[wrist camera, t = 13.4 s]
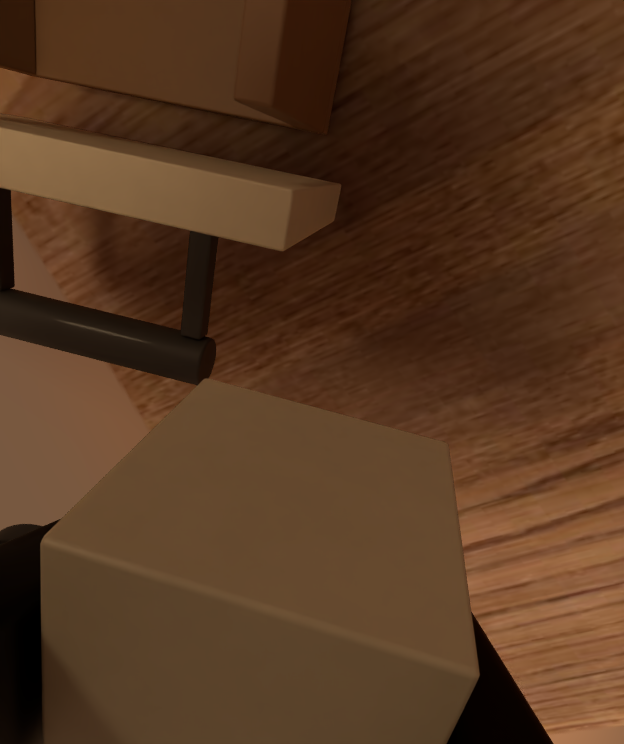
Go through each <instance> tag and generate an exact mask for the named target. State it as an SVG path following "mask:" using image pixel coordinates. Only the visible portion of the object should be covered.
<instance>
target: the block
mask: <svg viewBox="0 0 624 744" xmlns="http://www.w3.org/2000/svg"><path fill="white" fill-rule="evenodd" d="M40 565H41V658H42V744H447V742H448V740H449V738H450V736H451V734H452V732H453V730H454V728H455V726H456V724H457V722H458V720H459V718H460V715H461V713H462V711H463V709H464V707H465V705H466V703H467V701H468V699H469V697H470V695H471V693H472V691H473V689H474V687H475V685H476V683H477V681H478V678H479V676H480V673H479V665H478V658H477V650H476V643H475V636H474V628H473V621H472V614H471V606H470V599H469V592H468V584H467V577H466V569H465V562H464V555H463V547H462V540H461V533H460V525H459V518H458V511H457V503H456V496H455V489H454V481H453V474H452V467H451V459H450V452H449V445H448V444H447V443H446V442H443V441H439V440H435V439H432V438H428V437H424V436H420V435H417V434H413V433H409V432H406V431H402V430H398V429H394V428H391V427H387V426H383V425H380V424H376V423H372V422H368V421H365V420H361V419H357V418H354V417H350V416H346V415H342V414H339V413H335V412H331V411H328V410H324V409H320V408H316V407H313V406H309V405H305V404H302V403H298V402H294V401H290V400H287V399H283V398H279V397H276V396H272V395H268V394H264V393H261V392H257V391H253V390H250V389H246V388H242V387H238V386H235V385H231V384H227V383H224V382H220V381H216V380H212V379H209V378H207V379H204V380H202V381H201V382H200V383H199V384H198V385H197V386H196V387H195V388H194V389H193V390H192V391H191V392H190V393H189V394H188V395H187V396H186V397H185V398H184V399H183V400H182V401H181V402H180V403H179V404H178V405H177V406H176V407H175V408H174V409H173V410H172V411H171V412H170V413H169V414H168V415H167V416H166V417H165V418H164V419H163V420H162V421H161V422H160V423H159V424H158V425H157V426H156V427H155V428H154V429H152V430H151V431H150V432H149V433H148V434H147V436H145V437H144V438H143V439H142V440H141V441H140V442H139V443H138V444H137V445H136V446H135V447H134V448H133V449H132V450H131V451H130V452H129V453H128V454H127V455H126V456H125V457H124V458H123V459H122V460H121V461H120V462H119V463H118V464H117V465H116V466H115V467H114V468H113V469H112V470H111V471H110V472H109V473H108V474H107V475H106V476H105V477H104V478H103V479H102V480H100V481H99V483H98V484H96V486H94V487H93V488H92V489H91V490H90V491H89V492H88V493H87V494H86V495H85V496H84V497H83V498H82V499H81V500H80V501H79V502H78V503H77V504H76V505H75V506H74V507H73V508H72V509H71V510H70V511H69V512H68V513H67V514H66V515H65V516H64V517H63V518H62V519H61V520H60V521H59V522H58V523H57V524H56V525H55V526H54V527H53V528H52V529H50V530H49V531H48V532H47V533H46V534H45V535H44V537H43V539H42V541H41V544H40Z"/></svg>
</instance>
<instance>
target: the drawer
mask: <svg viewBox="0 0 624 744" xmlns="http://www.w3.org/2000/svg"><path fill="white" fill-rule="evenodd" d="M351 1H352V0H0V67H1V68H4V69H8V70H12V71H16V72H19V73H23V74H27V75H31V76H35V77H40V78H45V79H50V80H55V81H60V82H65V83H70V84H75V85H80V86H85V87H90V88H95V89H100V90H105V91H110V92H115V93H120V94H125V95H130V96H135V97H140V98H144V99H149V100H154V101H159V102H164V103H169V104H174V105H179V106H184V107H189V108H194V109H199V110H204V111H209V112H214V113H219V114H224V115H229V116H234V117H239V118H244V119H249V120H254V121H259V122H264V123H268V124H273V125H278V126H283V127H288V128H293V129H298V130H303V131H308V132H313V133H318V134H323V135H326V134H327V133H328V127H329V122H330V117H331V111H332V106H333V100H334V95H335V89H336V84H337V78H338V73H339V67H340V62H341V56H342V51H343V45H344V40H345V34H346V29H347V23H348V18H349V12H350V7H351ZM11 190H13V191H17V192H21V193H26V194H30V195H35V196H39V197H44V198H48V199H52V200H57V201H61V202H66V203H70V204H75V205H79V206H83V207H88V208H92V209H97V210H101V211H105V212H110V213H114V214H119V215H123V216H128V217H132V218H136V219H141V220H145V221H150V222H154V223H159V224H163V225H167V226H172V227H176V228H181V229H185V230H190V237H189V248H188V259H187V270H186V280H185V291H184V302H183V313H182V323H181V330H177V329H173V328H169V327H165V326H161V325H157V324H153V323H149V322H145V321H141V320H137V319H133V318H129V317H125V316H120V315H116V314H112V313H108V312H104V311H100V310H96V309H92V308H88V307H84V306H80V305H76V304H72V303H68V302H64V301H60V300H55V299H51V298H47V297H43V296H39V295H35V294H31V293H27V292H23V291H19V290H15V289H11V288H13V287H14V285H15V284H14V262H13V261H14V260H13V235H12V211H11ZM340 190H341V184H339V183H334V182H329V181H324V180H320V179H315V178H310V177H305V176H301V175H296V174H291V173H286V172H282V171H277V170H272V169H267V168H263V167H258V166H253V165H248V164H244V163H239V162H234V161H229V160H225V159H220V158H215V157H210V156H206V155H201V154H196V153H191V152H187V151H182V150H177V149H172V148H168V147H163V146H158V145H153V144H149V143H144V142H139V141H134V140H130V139H125V138H120V137H115V136H111V135H106V134H101V133H96V132H92V131H87V130H82V129H77V128H73V127H68V126H63V125H58V124H54V123H49V122H44V121H39V120H35V119H30V118H25V117H20V116H14V115H7V114H1V113H0V335H3V336H7V337H11V338H15V339H19V340H23V341H26V342H30V343H34V344H39V345H42V346H46V347H50V348H54V349H58V350H62V351H65V352H69V353H73V354H77V355H81V356H85V357H89V358H93V359H97V360H101V361H104V362H108V363H112V364H116V365H120V366H124V367H128V368H132V369H136V370H140V371H143V372H147V373H151V374H155V375H159V376H163V377H167V378H171V379H175V380H179V381H183V382H186V383H190V384H194V385H198V384H199V383H200V382H201V381H202V380H204V379H207V378H209V376H210V374H211V372H212V369H213V366H214V362H215V357H216V343H215V341H214V340H213V339H212V338H210V337H206V336H205V335H206V334H207V331H208V323H209V314H210V305H211V297H212V288H213V279H214V270H215V262H216V253H217V244H218V237H221V238H225V239H229V240H234V241H238V242H243V243H247V244H251V245H256V246H260V247H265V248H269V249H274V250H278V251H285V250H286V249H288V248H290V247H291V246H293V245H295V244H296V243H298V242H300V241H301V240H303V239H305V238H307V237H308V236H310V235H312V234H313V233H315V232H317V231H318V230H320V229H322V228H323V227H325V226H327V225H328V224H330V223H332V222H334V220H335V215H336V210H337V205H338V200H339V195H340Z"/></svg>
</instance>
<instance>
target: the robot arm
mask: <svg viewBox="0 0 624 744" xmlns="http://www.w3.org/2000/svg"><path fill="white" fill-rule="evenodd" d="M61 519H62V518H61ZM61 519H59V520H57V521H55V522H53V523H50V524H48V525H45V526H43V527H41V528H38V529H36V530H34V531H31V532H29V533H27V534H25V535H22V536H20V537H18V538H15V539H13V540H11V541H8V542H6V543H4V544H2V545H0V744H42V658H41V565H40V544H41V541H42V539H43V537H44V535H45V534H46V533H47V532H48V531H49V530H50V529H52V528H53V527H54V526H55V525H56V524H57V523H58V522H59V521H60V520H61ZM471 614H472V621H473V628H474V636H475V643H476V650H477V658H478V665H479V673H480V676H479V678H478V681H477V683H476V685H475V687H474V689H473V691H472V693H471V695H470V697H469V699H468V701H467V703H466V705H465V707H464V709H463V711H462V713H461V715H460V718H459V720H458V722H457V724H456V726H455V728H454V730H453V732H452V734H451V736H450V738H449V740H448V742H447V744H553V742H552V741H551V739H550V737H549V736H548V734H547V733H546V731H545V729H544V728H543V726H542V725H541V723H540V721H539V720H538V718H537V716H536V715H535V713H534V712H533V710H532V708H531V707H530V705H529V704H528V702H527V700H526V699H525V697H524V696H523V694H522V692H521V691H520V689H519V687H518V686H517V684H516V683H515V681H514V679H513V678H512V676H511V675H510V673H509V671H508V670H507V668H506V666H505V665H504V663H503V662H502V660H501V658H500V657H499V655H498V654H497V652H496V650H495V649H494V647H493V646H492V644H491V642H490V641H489V639H488V637H487V636H486V634H485V633H484V631H483V629H482V628H481V626H480V625H479V623H478V621H477V620H476V618H475V617H474V615H473V613H472V612H471Z"/></svg>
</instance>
